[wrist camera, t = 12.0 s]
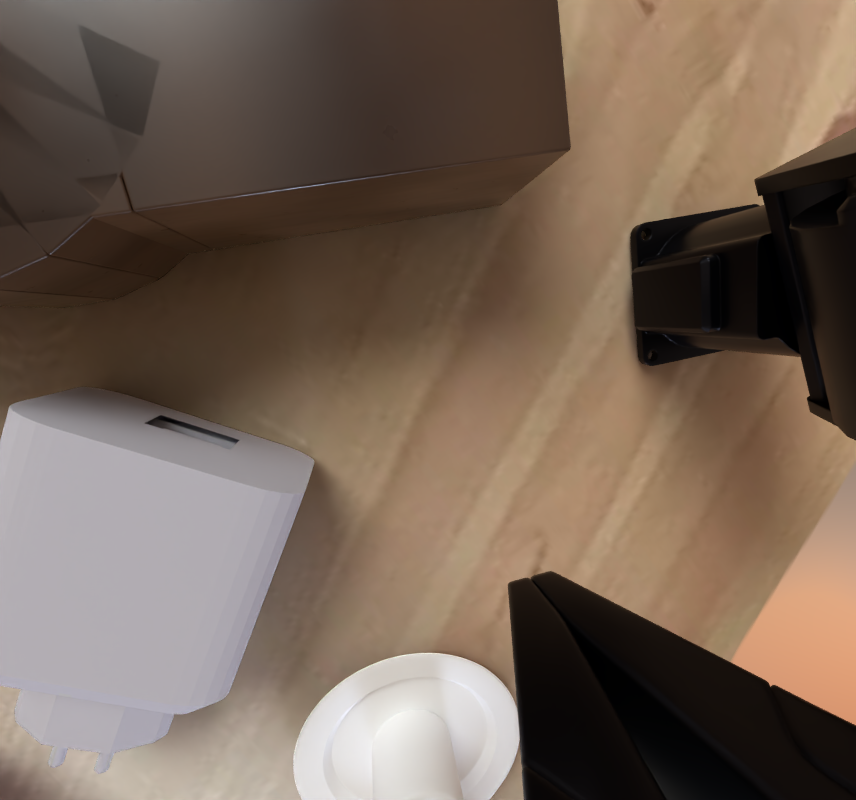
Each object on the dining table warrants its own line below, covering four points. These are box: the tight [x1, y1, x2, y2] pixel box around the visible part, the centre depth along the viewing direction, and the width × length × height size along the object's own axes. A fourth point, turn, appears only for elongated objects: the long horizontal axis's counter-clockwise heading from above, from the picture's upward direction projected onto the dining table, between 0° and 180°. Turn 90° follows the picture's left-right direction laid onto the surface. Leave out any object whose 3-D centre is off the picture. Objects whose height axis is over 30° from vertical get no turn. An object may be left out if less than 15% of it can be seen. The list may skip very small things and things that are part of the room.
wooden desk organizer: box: [0, 0, 571, 308], centre depth 12 cm, size 24×14×6 cm, turn 100°
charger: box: [0, 387, 315, 774], centre depth 16 cm, size 5×9×15 cm
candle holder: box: [293, 653, 520, 800], centre depth 20 cm, size 12×12×4 cm
